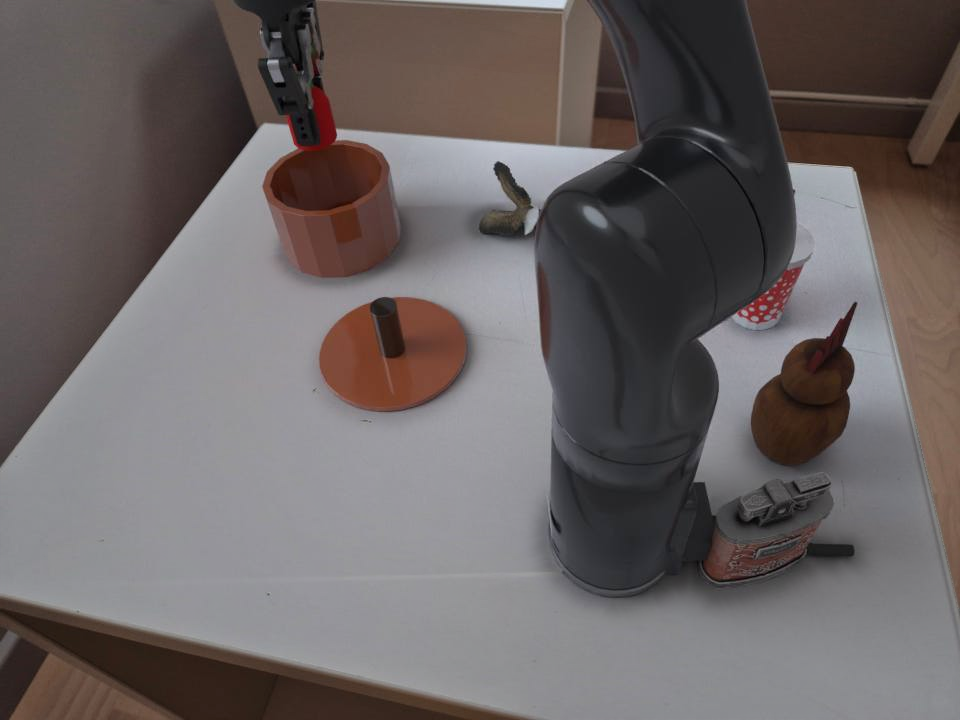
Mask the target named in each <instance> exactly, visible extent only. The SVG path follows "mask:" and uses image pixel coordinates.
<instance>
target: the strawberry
mask: <svg viewBox="0 0 960 720" xmlns="http://www.w3.org/2000/svg"><path fill="white" fill-rule="evenodd" d="M301 87H302V86H301ZM310 87H311V93H312V99H313V101H314V105H313V106H314V110H315V114H316V118H317V122H318V126H319V130H320V134H321V141H320V144H319V145H317V146H300V145H298V144H297V142H296V138H295V135H294V131H293V127H292V124H291V120H290V117H289V115H285V118H286V122H287V125H288V128H289V132H290V135H291V139H292V143H293V145H294V146H295V147H296V149H298V148H299V149H301V150H306V151H315V150H320V149H324V148H326V147H328V146H330V145H331V144H333V143H334V141H336V140H337V138H338V133H337V128H336V123H335V119H334V115H333V110H332V106H331V102H330V99H329V98H328V96H327V94H326V92H325V91H324V92H325V93H324V92H323V91H322V90H321V89H319V88H318V87H316V86H314V85H313V82H312V80H311V81H310Z"/></svg>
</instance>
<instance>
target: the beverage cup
mask: <svg viewBox="0 0 960 720" xmlns="http://www.w3.org/2000/svg"><path fill="white" fill-rule="evenodd" d="M793 192H794V195H795V194H796V189H794V188H793ZM796 225H797V230H796V240H795V248H794V252H793V255H792V259H791V261H790V263H789V265H788V267H787V269H786V271H785V273H784V274H783V276H782V277H781V278H780V279H779V280H778V282H777V283H776V284H775V285H774V286H773V287H772V288H771V289H770V290H769V291H768V292H766V293H765V294H764V295H762V296H761V297H759V298H758V299H757V300H755V301H754V302H753V303H751V304H750V305H749V306H747V307H745V308H744V309H742V310H741V311H739V312H738V313H736V314H735V315H733V316H732V317H731V318H732V319H733V321H734V322H735V323H736V324H738V325H740V326H741V327H742V328H744V329H749V330H753V331H766V330H768V329H772V328H774V327H775V326H776V325H777V324H778V323H779V321H780V319H781V317H782V315H783V313H784V311H785V308H786V306H787V304H788V301H789V300H790V297H791V296H792V295H791V294H792V293H793V290H794V288H795V287H796V283H797V282H798V279H799V277H800V275H801V272H802V270H803V268H804V266H805V264H806V263H807V262H808V261H809V260H810V259H811V256H812V255H813V253H814V250H815V245H816V241H815V238H814V237H813V234H812V233H811V231H810V230H808V229H807V228H806V226H804V225H803V224H801V223H798V222H796Z"/></svg>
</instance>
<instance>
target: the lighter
mask: <svg viewBox="0 0 960 720" xmlns="http://www.w3.org/2000/svg"><path fill="white" fill-rule="evenodd" d="M832 486H833V481H832V479H831V477H830V476H829V475H828V474H827V473H826V472H824V471H818V472H815V473H811V474H808V475H804V476H801V477H797V478H794V479H792V480H788V481H785V482H784V481H783V480H781V479H780V478H779V479H778V478H776V479H775V478H774V479H773V480H769V481H767V482H765V483H764V484H763V485H762V486H760V487H759V488H757V489H755V490H753V491H750V492H747V493H744V494H742V495H740V496H738V497H736V498H734V499H732V500H731V501H729V502H727V503H725V504H724V505H721V506H720V508H718V510H717V512H716V515H715V516H716V518H715V529H714V532H713V535H712V543H713V544H712V547H711V550H710V552H709V555H708V558H707V560H699V562H698V566H697V567H698V573H699V576H700V578H701V579H702V580H703V582H704V583H705V584H707V585H708V586H709V587H711V588H713V589H719V590H721V589H722V590H723V589H731V588H740V587H744V586H745V587H746V586H749V585H753V584H758V583H761V582H765V581H768V580H769V579H771V578H774V577H776V576H779V575H781V574H783V573H785V572H787V571H789V570H791V569H793V568H795V566H797V565H799V564H800V563H801V562H803V560H804V558H805V556H806V551H807V549H806V547H807V545H808V544H809V543H811V540H812V539H813V537H814V535H815V534H816V532H817V530H818V528H819V527H820V525H821V523H822V521H823V520H825V519H827V518H828V516H830V515H831V512H832V511H833V509H834V506H835V501H834V497H833V495H832V494H831V492H830V489H831V487H832ZM805 549H806V550H805Z"/></svg>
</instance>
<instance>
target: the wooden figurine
mask: <svg viewBox="0 0 960 720" xmlns="http://www.w3.org/2000/svg"><path fill="white" fill-rule="evenodd" d="M857 306H858V302H857V301H854V302H852V305H851V306H850V307H849V309H848V311H847V312H846V314H845V316H844V317H840V318H839V319H838V321H837V323H836V324H835V326H834V327H833V329H832V331H831V333H830V334H829V335H827V336H826V337H825V338H823V337H812V338H808V339H804V340H802V341H800V342H799V343H797V344H795V345H794V346H793V347H792V349H791V350H789V351H788V353H787V354H786V355H785V357H784V359H783V360H782V361H783V362H782V364H781V368H780V373H779V374H776V375H775V376H773V377H772V378H771V379H770V380H768V381H767V382H766V383H765V384H764V385H763V386H762V387H760V389H759V390H758V392H757V393H756V395H755V398H754V401H753V403H752V409H751V414H750V423H749V424H750V430H751V434H752V437H753V440H754V443H755V445H756V448H757V449H758V450H759V451H760V452H761V454H762V455H763V456H764V457H765V458H767V459H768V460H770V461H771V462H773V463H775V464H779V465H782V466H796V465H800V464H804V463H807V462H809V461H811V460H812V459H813V458H816V457H817V456H819V455H820V454H822V453H823V452H824V451H825V450H826V449H828V448H829V447H830V446H831V445H833V444H834V443H835V442H836V441H837V440H838V439H839V438H840V437H841V436H842V435H843V434H844V431H845V429H846V428H847V424H848V422H849V421H848V420H849V415H850V411H851V410H850V409H851V399H850V396H849V392H848V390H849V389H850V387H851V385H852V383H853V381H854V377H855V372H856V366H855V365H856V363H855V360H854V358H853V356H852V354H851V352H850V351H848V349H847V348H846V347H845V346H844V343H845V341H846V338H847V334H848V331H849V329H850V326H851V324H852V320H853V317H854V315H855V312H856V309H857Z"/></svg>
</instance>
